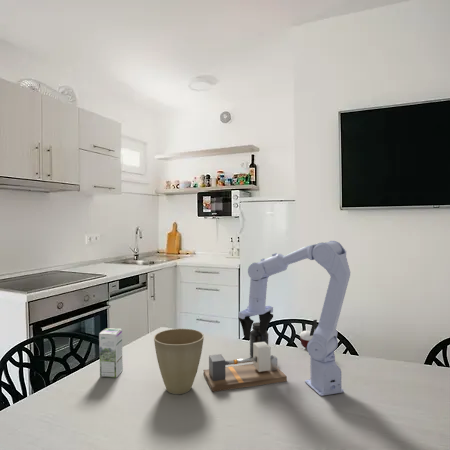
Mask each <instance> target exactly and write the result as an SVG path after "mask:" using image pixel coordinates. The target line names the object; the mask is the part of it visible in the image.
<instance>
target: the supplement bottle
mask: <svg viewBox="0 0 450 450" xmlns="http://www.w3.org/2000/svg"><path fill="white" fill-rule="evenodd" d="M257 342H265V343H267V344H268V345H269V333H268V331H267V330H266V333H265V334H262V333H260V321H259V322H253V324H252V329H251V332H250V338H249V356H250V358H253V343H257Z"/></svg>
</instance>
